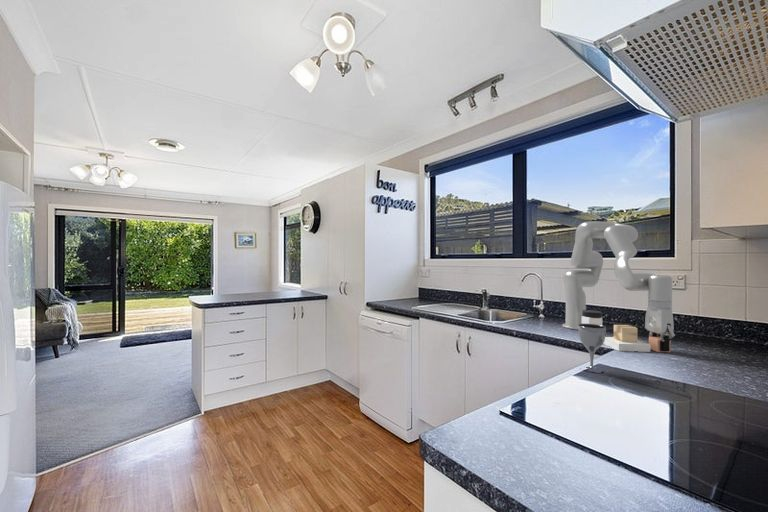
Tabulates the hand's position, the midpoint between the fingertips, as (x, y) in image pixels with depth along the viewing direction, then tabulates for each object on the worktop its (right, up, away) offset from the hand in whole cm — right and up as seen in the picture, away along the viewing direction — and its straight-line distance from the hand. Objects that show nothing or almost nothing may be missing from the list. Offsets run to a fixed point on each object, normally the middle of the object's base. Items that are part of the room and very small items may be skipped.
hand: (659, 348), depth 136 cm
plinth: (-10, -1, +5) cm, 12 cm away
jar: (-11, -1, +26) cm, 28 cm away
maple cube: (-10, +2, +5) cm, 12 cm away
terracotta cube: (0, -1, 0) cm, 1 cm away
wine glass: (-43, -1, -24) cm, 49 cm away
